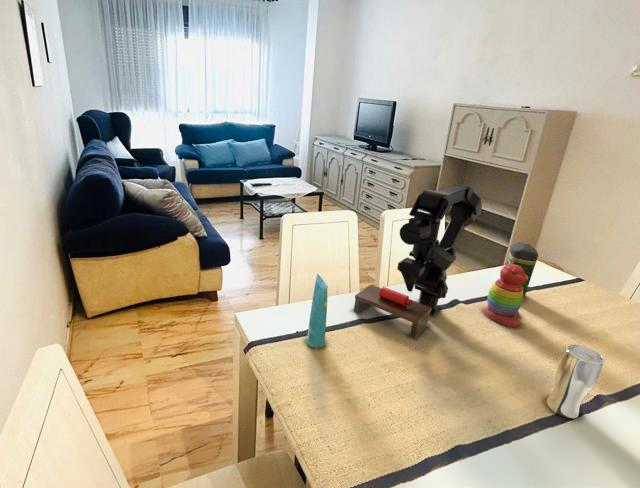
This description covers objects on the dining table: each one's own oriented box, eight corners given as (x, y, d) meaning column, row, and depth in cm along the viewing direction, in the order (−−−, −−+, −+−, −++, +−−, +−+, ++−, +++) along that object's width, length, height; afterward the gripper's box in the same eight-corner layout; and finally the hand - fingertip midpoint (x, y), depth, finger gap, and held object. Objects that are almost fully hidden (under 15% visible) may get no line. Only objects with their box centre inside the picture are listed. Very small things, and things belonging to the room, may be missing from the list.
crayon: (377, 296, 116) (380, 286, 116) (382, 296, 119) (385, 286, 118) (407, 308, 111) (410, 298, 110) (411, 307, 113) (414, 297, 113)
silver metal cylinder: (574, 401, 88) (597, 347, 83) (586, 424, 82) (611, 367, 77) (540, 393, 90) (560, 340, 85) (549, 414, 84) (571, 359, 79)
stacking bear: (519, 329, 115) (537, 276, 109) (482, 319, 120) (497, 267, 113) (518, 313, 124) (534, 263, 118) (483, 304, 128) (497, 255, 122)
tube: (329, 349, 102) (337, 285, 95) (313, 352, 100) (319, 287, 93) (317, 333, 108) (323, 272, 101) (301, 336, 107) (307, 274, 100)
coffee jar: (526, 303, 130) (542, 253, 124) (500, 297, 133) (514, 248, 126) (521, 290, 139) (536, 243, 132) (497, 286, 142) (510, 239, 135)
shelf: (368, 300, 127) (371, 284, 125) (428, 324, 115) (431, 307, 113) (352, 311, 120) (355, 294, 118) (414, 339, 108) (418, 321, 106)
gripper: (443, 253, 95) (431, 308, 101) (466, 236, 108) (455, 285, 114) (401, 241, 102) (392, 293, 108) (428, 226, 115) (418, 272, 121)
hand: (416, 285), depth 112 cm, fingers open, 9 cm apart
